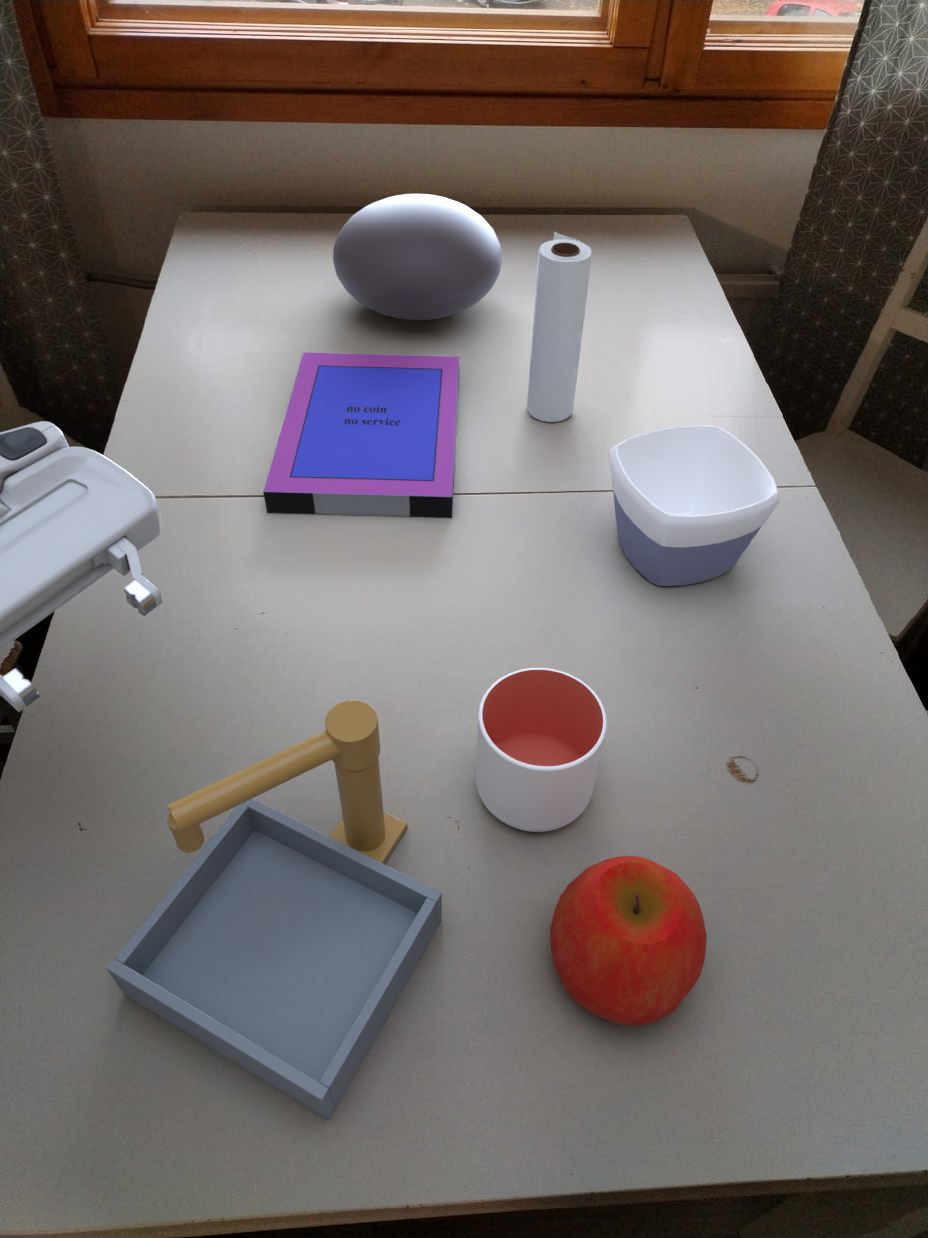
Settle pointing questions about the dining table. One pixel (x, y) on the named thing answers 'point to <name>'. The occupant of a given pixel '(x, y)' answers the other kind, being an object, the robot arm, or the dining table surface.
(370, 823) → the faucet base
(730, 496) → the bowl
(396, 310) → the smooth stone
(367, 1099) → the dining table surface
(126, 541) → the robot arm
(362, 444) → the book
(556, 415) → the paper towel roll
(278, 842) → the sink
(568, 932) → the apple
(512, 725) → the cup
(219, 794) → the spout
